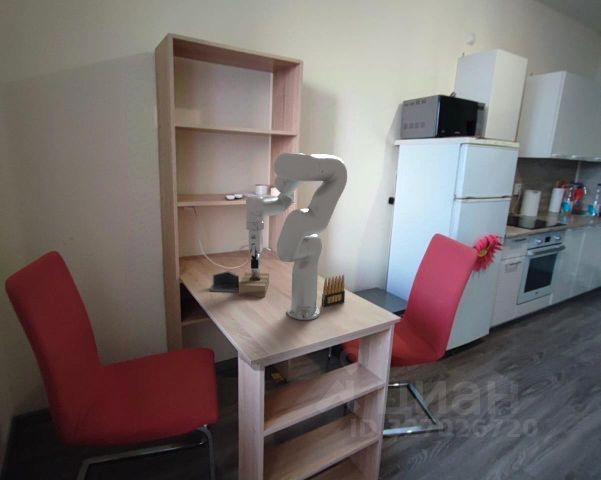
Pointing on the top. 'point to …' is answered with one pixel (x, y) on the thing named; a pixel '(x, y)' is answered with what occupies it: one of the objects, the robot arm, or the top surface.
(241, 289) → the wooden block with hole
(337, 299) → the ammunition clip
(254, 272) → the axle
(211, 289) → the v block
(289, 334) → the top surface
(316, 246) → the robot arm
